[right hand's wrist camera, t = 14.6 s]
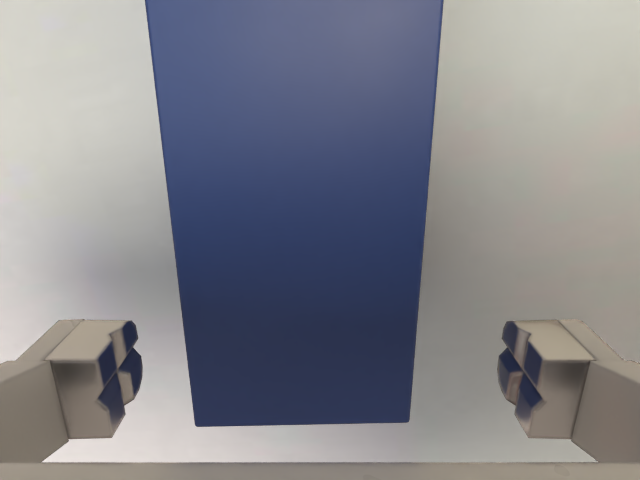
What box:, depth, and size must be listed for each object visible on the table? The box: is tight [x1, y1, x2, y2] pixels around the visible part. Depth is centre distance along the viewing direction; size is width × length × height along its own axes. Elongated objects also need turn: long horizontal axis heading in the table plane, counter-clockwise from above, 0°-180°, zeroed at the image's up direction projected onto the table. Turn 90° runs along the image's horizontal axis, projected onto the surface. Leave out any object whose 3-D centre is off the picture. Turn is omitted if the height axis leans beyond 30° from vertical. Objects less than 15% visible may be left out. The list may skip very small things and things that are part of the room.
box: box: [145, 0, 443, 427], centre depth 15 cm, size 21×6×10 cm, turn 0°
